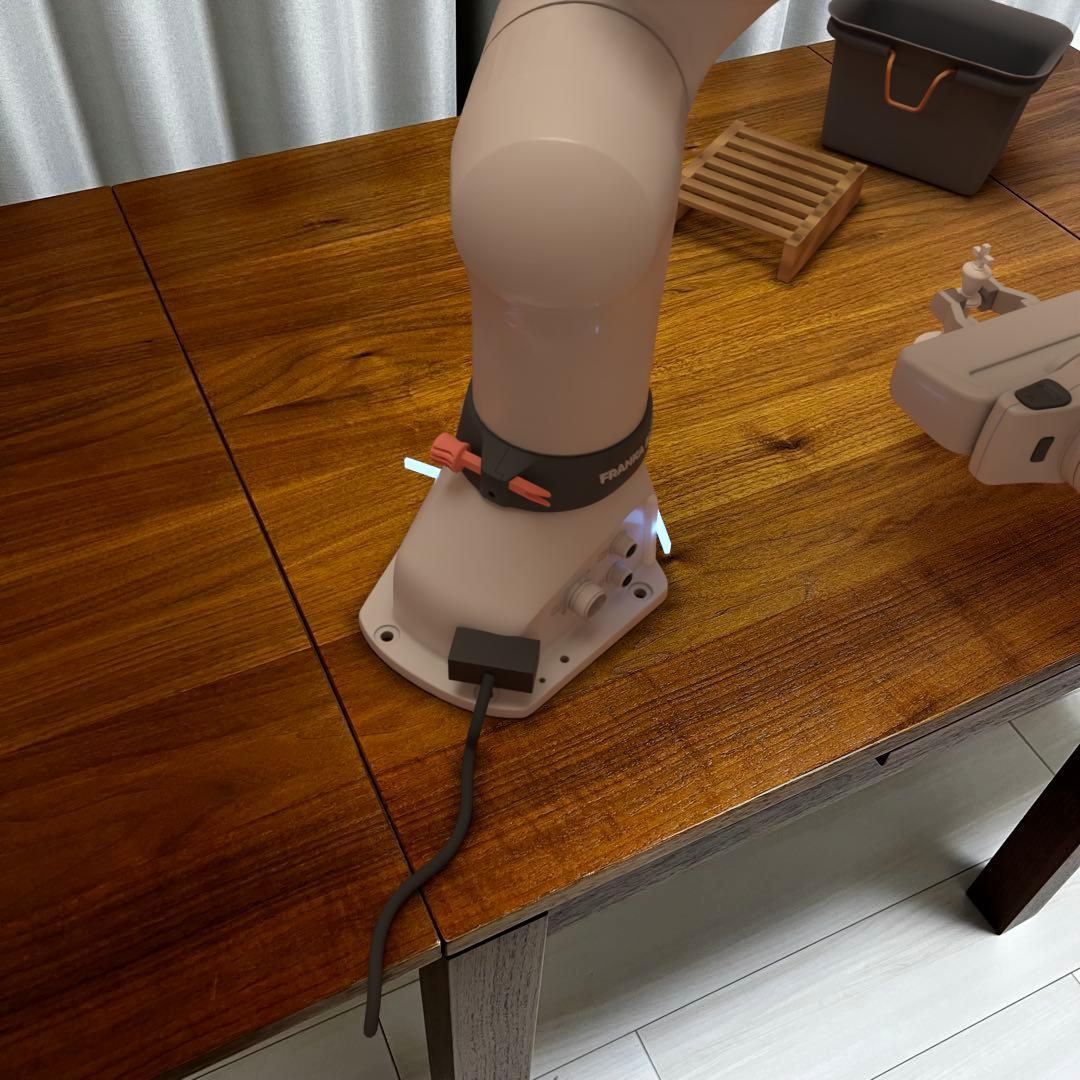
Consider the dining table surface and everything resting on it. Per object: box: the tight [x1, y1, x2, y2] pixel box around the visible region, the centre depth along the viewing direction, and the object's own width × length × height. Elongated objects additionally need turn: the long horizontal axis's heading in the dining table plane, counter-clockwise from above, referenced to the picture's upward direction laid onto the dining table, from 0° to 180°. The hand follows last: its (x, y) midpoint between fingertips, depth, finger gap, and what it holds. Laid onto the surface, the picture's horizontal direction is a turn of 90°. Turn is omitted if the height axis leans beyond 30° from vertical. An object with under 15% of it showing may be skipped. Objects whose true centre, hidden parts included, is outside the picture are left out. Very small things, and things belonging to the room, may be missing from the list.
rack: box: [675, 119, 869, 284], centre depth 112 cm, size 16×14×4 cm
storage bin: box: [820, 0, 1075, 196], centre depth 116 cm, size 21×16×14 cm
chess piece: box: [912, 242, 995, 344], centre depth 85 cm, size 5×5×10 cm
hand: (957, 291), depth 85 cm, fingers closed on chess piece
